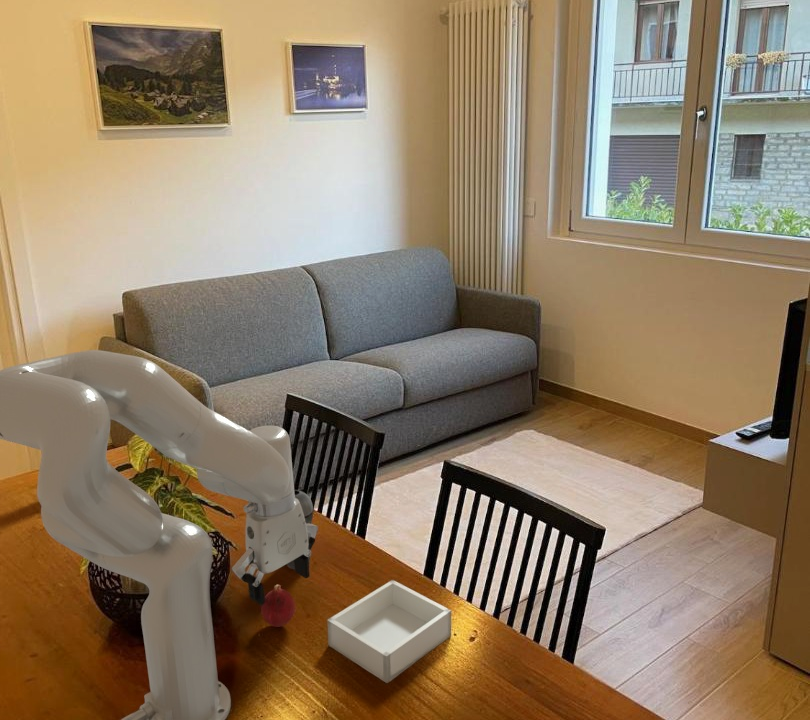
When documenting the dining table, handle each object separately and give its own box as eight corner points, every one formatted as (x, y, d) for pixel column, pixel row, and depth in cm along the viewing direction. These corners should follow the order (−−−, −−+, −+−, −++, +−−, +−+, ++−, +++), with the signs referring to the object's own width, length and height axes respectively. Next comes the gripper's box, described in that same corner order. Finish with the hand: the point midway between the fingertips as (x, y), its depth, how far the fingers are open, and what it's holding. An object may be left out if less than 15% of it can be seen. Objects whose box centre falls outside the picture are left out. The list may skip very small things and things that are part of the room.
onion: (296, 634, 133) (294, 594, 130) (262, 638, 132) (259, 597, 130) (295, 614, 138) (293, 575, 136) (262, 617, 137) (259, 578, 135)
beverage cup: (306, 576, 150) (301, 481, 144) (272, 570, 152) (266, 476, 146) (322, 556, 156) (318, 465, 150) (289, 550, 158) (284, 460, 152)
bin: (387, 683, 121) (386, 656, 120) (328, 645, 130) (327, 619, 128) (451, 635, 132) (451, 610, 131) (392, 603, 141) (392, 579, 139)
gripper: (242, 529, 120) (253, 622, 125) (326, 487, 132) (332, 573, 137) (214, 513, 125) (225, 603, 130) (297, 473, 136) (305, 557, 142)
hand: (280, 587), depth 134 cm, fingers open, 9 cm apart
